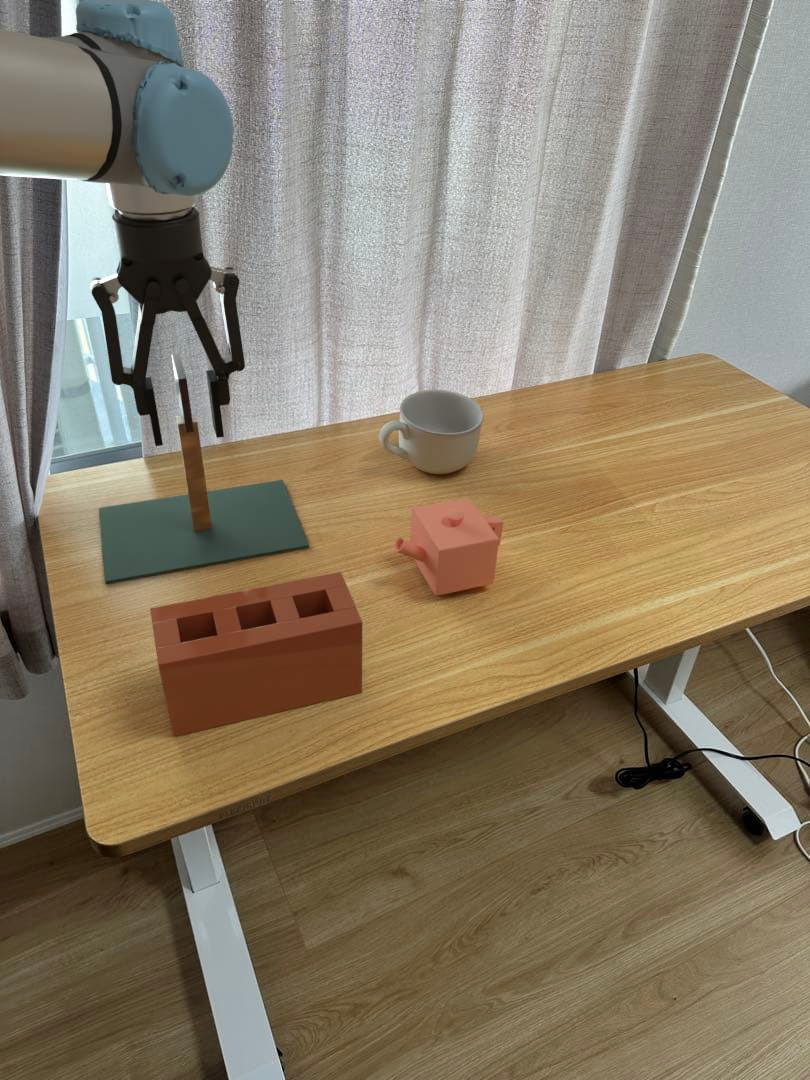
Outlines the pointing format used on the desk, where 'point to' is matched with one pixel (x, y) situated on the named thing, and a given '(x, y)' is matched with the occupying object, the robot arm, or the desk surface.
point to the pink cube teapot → (453, 545)
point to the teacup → (436, 431)
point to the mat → (172, 544)
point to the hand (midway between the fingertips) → (188, 434)
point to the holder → (258, 651)
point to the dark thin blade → (191, 452)
